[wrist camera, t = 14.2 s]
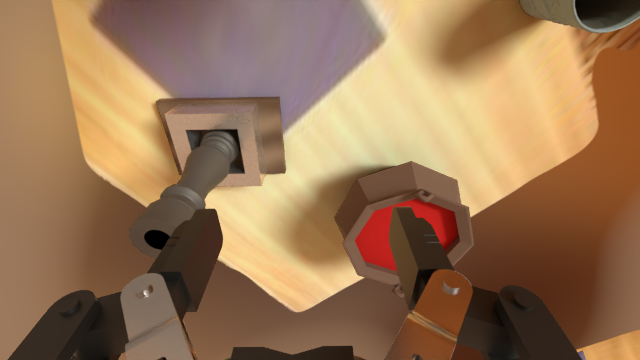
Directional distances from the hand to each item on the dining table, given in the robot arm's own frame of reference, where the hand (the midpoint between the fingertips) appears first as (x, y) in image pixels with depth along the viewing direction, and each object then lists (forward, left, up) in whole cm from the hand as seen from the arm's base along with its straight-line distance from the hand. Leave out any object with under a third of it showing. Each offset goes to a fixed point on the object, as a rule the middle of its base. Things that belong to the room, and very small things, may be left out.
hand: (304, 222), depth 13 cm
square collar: (+12, -16, -37) cm, 42 cm away
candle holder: (+12, -16, -37) cm, 42 cm away
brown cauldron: (+26, +15, -38) cm, 49 cm away
